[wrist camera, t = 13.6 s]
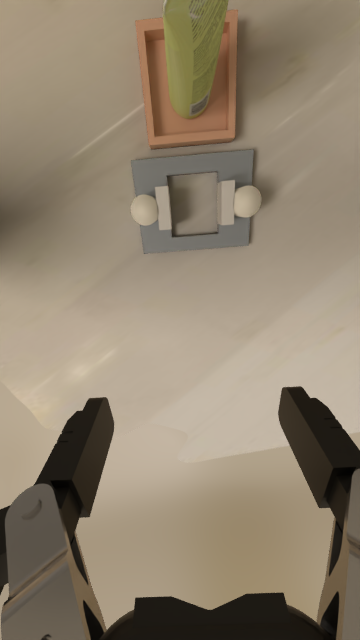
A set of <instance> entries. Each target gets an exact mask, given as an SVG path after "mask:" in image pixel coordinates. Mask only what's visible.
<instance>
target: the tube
mask: <svg viewBox="0 0 360 640" xmlns="http://www.w3.org/2000/svg"><path fill="white" fill-rule="evenodd" d="M227 5H228V0H164V4H163V24H164V37H165V52H166V65H167V76H168V88H169V97H170V102H171V105H172V107H173V109H174V110H175V112H176V113H177V114H178V115H179V116H181V117H183V118H186V119H193V118H196V117H198V116H199V115H200V114H201V113H202V112H203V111H204V110H205V108H206V107H207V104H208V102H209V98H210V94H211V90H212V85H213V80H214V75H215V71H216V66H217V60H218V55H219V50H220V45H221V39H222V34H223V28H224V22H225V17H226V11H227Z"/></svg>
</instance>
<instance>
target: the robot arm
mask: <svg viewBox="0 0 360 640" xmlns="http://www.w3.org/2000/svg"><path fill="white" fill-rule="evenodd" d="M278 415H279V421H280V425H281V427H282V429H283V431H284V434H285V436H286V438H287V440H288V442H289V444H290V446H291V449H292V451H293V453H294V455H295V457H296V459H297V461H298V464H299V466H300V468H301V470H302V472H303V475H304V477H305V479H306V481H307V483H308V485H309V487H310V490H311V491H312V493H313V496H314V498H315V500H316V502H317V505H318V507H319V508H331V510H332V512H333V514H334V516H335V518H334V521H333V528H332V536H331V543H330V550H329V557H328V564H327V571H326V578H325V583H324V587H323V590H322V594H321V599H320V603H319V609H318V616H317V622H315V621H314V620H313V619H312V618H310V617H308V616H307V615H306V614H304V613H303V612H301V611H299V610H297V609H296V608H294V607H292V606H289V605H287V604H286V601H285V597H284V593H259V594H245V595H243V596H241V597H239V598H237V599H235V600H232V601H230V602H228V603H226V604H224V605H222V606H219V607H217V608H215V609H213V610H207V609H204V608H201V607H198V606H196V605H193V604H190V603H187V602H185V601H182V600H179V599H177V598H174V597H143V598H135V608H134V610H132V611H130V612H128V613H127V614H125V615H124V616H122V617H121V618H119V619H118V620H117V621H116V622H115V623H114V624H113V625H111V626H110V627H109V629H108V630H106V626H105V623H104V620H103V617H102V613H101V610H100V607H99V605H98V602H97V599H96V597H95V595H94V592H93V589H92V586H91V583H90V579H89V576H88V572H87V569H86V565H85V562H84V558H83V556H82V552H81V548H80V545H79V541H78V538H77V534H76V531H75V529H76V526H77V523H78V520H79V518H81V517H90V513H91V510H92V506H93V503H94V499H95V496H96V492H97V489H98V485H99V482H100V478H101V474H102V471H103V468H104V464H105V461H106V457H107V454H108V450H109V447H110V443H111V440H112V436H113V432H114V420H113V416H112V413H111V409H110V406H109V402H108V399H107V398H106V397H102V398H89V399H88V401H87V403H86V405H85V407H84V409H83V411H76V413H75V414H74V415H73V416H72V417H71V418H70V419H69V420H68V421H67V423H66V425H65V427H64V429H63V431H62V434H60V436H59V438H58V440H57V444H55V446H54V448H53V450H52V452H51V454H50V456H49V458H48V460H47V462H46V463H45V466H44V467H43V470H42V471H41V473H40V475H39V477H38V479H37V481H36V483H35V484H34V486H32V487H30V488H28V489H26V490H25V491H24V492H22V493H21V494H20V495H19V496H18V497H17V498H16V499H15V500H14V502H13V503H12V504H11V505H10V506H8V507H5V508H3V509H1V510H0V594H1V592H2V590H3V587H4V585H5V584H7V583H9V597H8V600H7V601H6V602H5V603H4V605H3V607H2V613H1V632H2V640H360V450H359V449H358V447H357V446H356V445H355V443H354V442H353V441H352V440H351V438H350V437H349V435H348V434H347V433H346V431H345V430H344V429H343V428H342V426H341V424H340V423H339V422H338V420H336V419H335V416H334V415H333V414H332V412H331V411H330V410H329V408H328V407H327V406H326V405H324V404H323V403H322V402H321V401H319V400H318V399H317V398H310V397H309V396H308V394H307V393H306V392H305V390H304V389H303V388H302V387H300V386H299V387H284V388H282V392H281V398H280V405H279V411H278Z"/></svg>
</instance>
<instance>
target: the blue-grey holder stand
mask: <svg viewBox="0 0 360 640" xmlns="http://www.w3.org/2000/svg"><path fill="white" fill-rule="evenodd" d="M253 151H254V149H253V150H242V151H231V152H220V153H208V154H197V155H186V156H175V157H164V158H153V159H142V160H131V165H132V172H133V180H134V187H135V194H136V198H135V199H134V200H133V201H132V204H131V214H132V217H133V219H134V220H135V221H136V222H137V223H138V224H140V230H141V237H142V244H143V251H144V254H147V253H160V252H173V251H186V250H199V249H212V248H224V247H237V246H249V227H250V217H251V216H253V215H254V214H255V213H256V212H257V211H258V210H259V208H260V206H261V201H262V198H261V194H260V192H259V190H258V189H257V188H256V187H254V186H252V170H253ZM210 172H217V223H218V233H214V234H201V235H189V236H176V237H172V230H171V229H172V217H171V206H170V194H169V187H168V183H167V176H176V175H187V174H199V173H210Z"/></svg>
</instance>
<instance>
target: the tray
mask: <svg viewBox="0 0 360 640" xmlns="http://www.w3.org/2000/svg"><path fill="white" fill-rule="evenodd" d="M135 22H136V31H137V40H138V49H139V58H140V68H141V77H142V86H143V95H144V104H145V113H146V123H147V132H148V141H149V146H150V148H151V149H162V148H173V147H184V146H195V145H205V144H216V143H227V142H232V140H233V139H234V138H235V109H236V65H237V22H238V10H228V11H226V17H225V22H224V28H223V34H222V39H221V45H220V50H219V55H218V60H217V66H216V71H215V75H214V80H213V85H212V90H211V94H210V98H209V102H208V104H207V107H206V108H205V110H204V111H203V112H202V113H201V114H200V115H199V116H198V117H196V118H193V119H186V118H183V117H181V116H179V115H178V114H177V113H176V112H175V110H174V109H173V107H172V105H171V102H170V97H169V88H168V76H167V65H166V52H165V37H164V24H163V18H155V19H146V20H136V21H135Z"/></svg>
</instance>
